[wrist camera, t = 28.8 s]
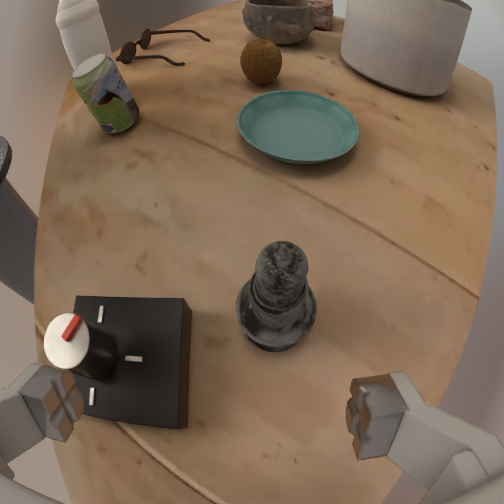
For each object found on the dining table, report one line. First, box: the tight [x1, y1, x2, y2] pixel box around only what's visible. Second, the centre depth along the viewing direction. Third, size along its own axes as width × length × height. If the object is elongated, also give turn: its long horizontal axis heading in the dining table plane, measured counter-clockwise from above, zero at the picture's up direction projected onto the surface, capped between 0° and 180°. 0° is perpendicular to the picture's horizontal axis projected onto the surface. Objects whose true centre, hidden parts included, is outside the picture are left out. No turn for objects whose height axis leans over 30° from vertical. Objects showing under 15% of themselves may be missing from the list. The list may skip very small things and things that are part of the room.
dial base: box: [73, 296, 192, 429], centre depth 22 cm, size 11×10×3 cm
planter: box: [341, 0, 472, 97], centre depth 38 cm, size 22×22×20 cm
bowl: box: [242, 0, 317, 45], centre depth 49 cm, size 14×15×10 cm
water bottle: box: [56, 0, 116, 70], centre depth 33 cm, size 7×7×25 cm
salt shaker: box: [236, 241, 317, 352], centre depth 20 cm, size 6×6×12 cm
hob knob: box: [44, 313, 117, 379], centre depth 19 cm, size 4×4×5 cm
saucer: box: [237, 90, 359, 164], centre depth 35 cm, size 15×15×3 cm
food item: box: [307, 0, 333, 30], centre depth 56 cm, size 14×8×10 cm, turn 170°
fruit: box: [241, 39, 282, 84], centre depth 40 cm, size 6×6×8 cm
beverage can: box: [72, 53, 139, 134], centre depth 34 cm, size 6×7×12 cm
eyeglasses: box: [116, 29, 210, 66], centre depth 50 cm, size 15×15×5 cm
